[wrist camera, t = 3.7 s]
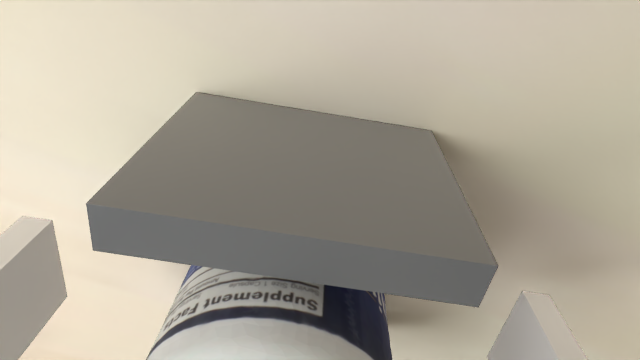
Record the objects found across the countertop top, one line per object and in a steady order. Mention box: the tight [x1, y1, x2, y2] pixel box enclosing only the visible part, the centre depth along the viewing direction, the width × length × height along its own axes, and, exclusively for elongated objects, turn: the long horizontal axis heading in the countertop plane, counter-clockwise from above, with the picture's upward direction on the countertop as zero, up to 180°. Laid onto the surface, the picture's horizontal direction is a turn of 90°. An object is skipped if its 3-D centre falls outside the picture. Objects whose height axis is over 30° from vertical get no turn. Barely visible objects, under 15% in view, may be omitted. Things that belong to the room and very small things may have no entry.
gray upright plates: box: [86, 92, 498, 307], centre depth 12 cm, size 8×7×6 cm
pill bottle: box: [146, 265, 392, 360], centre depth 10 cm, size 5×5×10 cm
